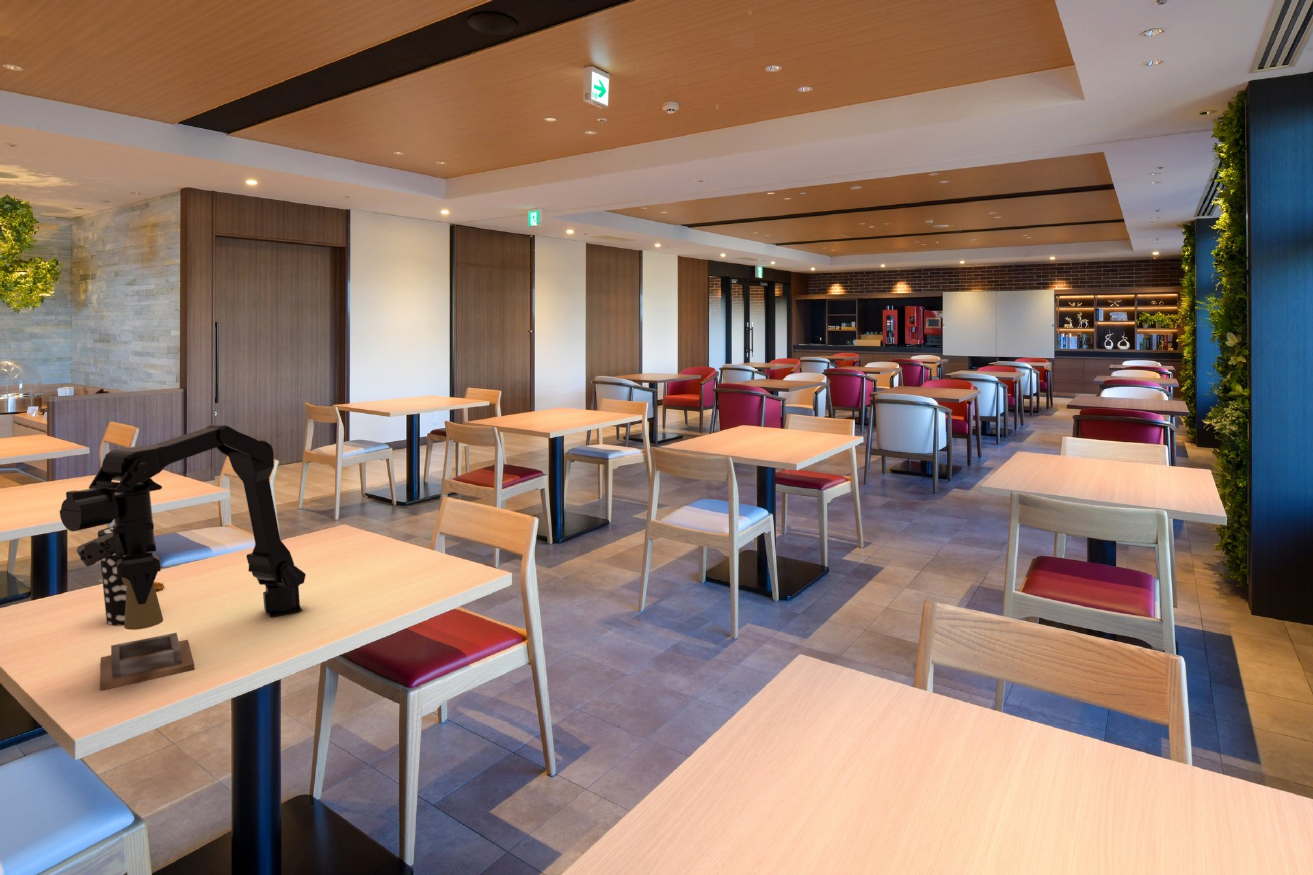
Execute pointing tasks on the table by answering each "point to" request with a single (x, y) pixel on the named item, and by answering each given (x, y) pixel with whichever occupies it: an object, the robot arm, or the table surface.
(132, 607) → the cork
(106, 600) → the white-spotted black cylinder
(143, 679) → the shaker holder
